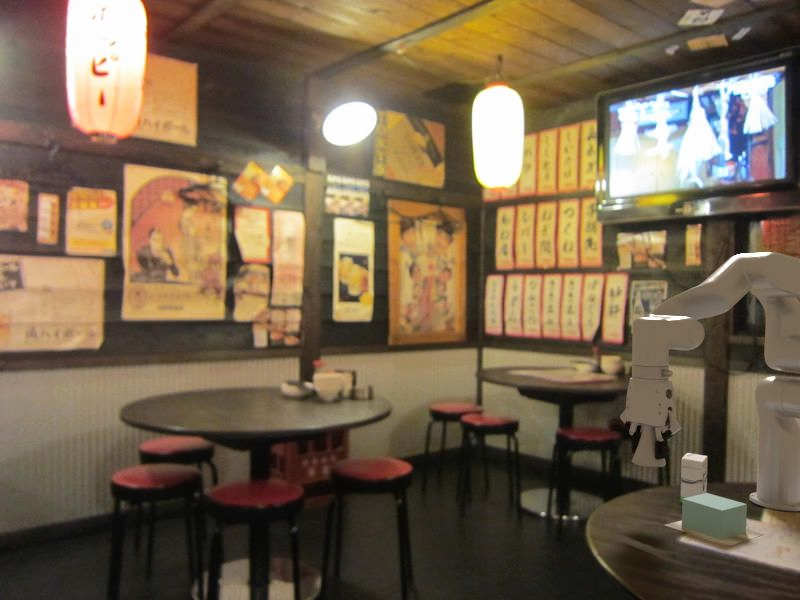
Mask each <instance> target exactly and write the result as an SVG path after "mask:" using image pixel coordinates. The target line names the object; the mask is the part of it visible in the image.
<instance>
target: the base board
mask: <svg viewBox="0 0 800 600" xmlns="http://www.w3.org/2000/svg"><path fill="white" fill-rule="evenodd" d="M664 526H666V527H668V528H671V529H674V530H677V531H680V532H684V533H686V534H688V535H691V536H695V537H697V538H700V539H704V540H706V541H709V542H712V543H714V544H718V545H720V546H723V547H726V548H727V547H729V546H730V547H731V546H734V545H736V544H740V543H742V542H746V541H749V540H752V539H754V538H755V539H756V538H758V537H761V536H764V535H765V534H764V533H763V532H762V533H761V532H758V531H754V530H753V529H752V530H751V529H749V528H746V533H743V534H740V535H737V536H733V537H730V538H727V539H724V540H720V539H717V538H714V537H711V536H708V535H705V534H702V533H699V532H696V531H693V530H690V529H687V528H684V527H682V519H681V520H679V521H674V522H670V523H666V524H664Z"/></svg>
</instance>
